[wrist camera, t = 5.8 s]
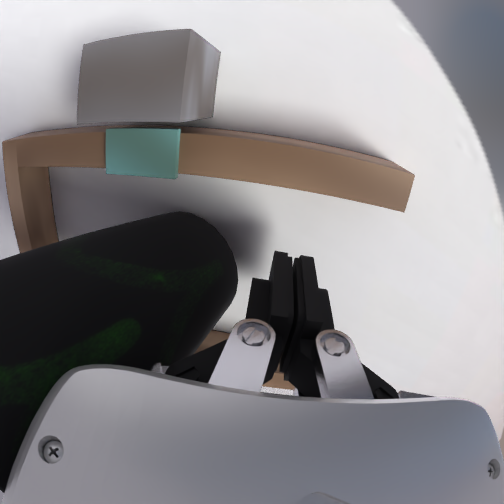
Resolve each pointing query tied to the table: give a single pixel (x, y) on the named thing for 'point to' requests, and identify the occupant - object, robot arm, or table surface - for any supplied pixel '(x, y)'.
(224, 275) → the cup
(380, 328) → the table surface
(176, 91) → the beam slot
